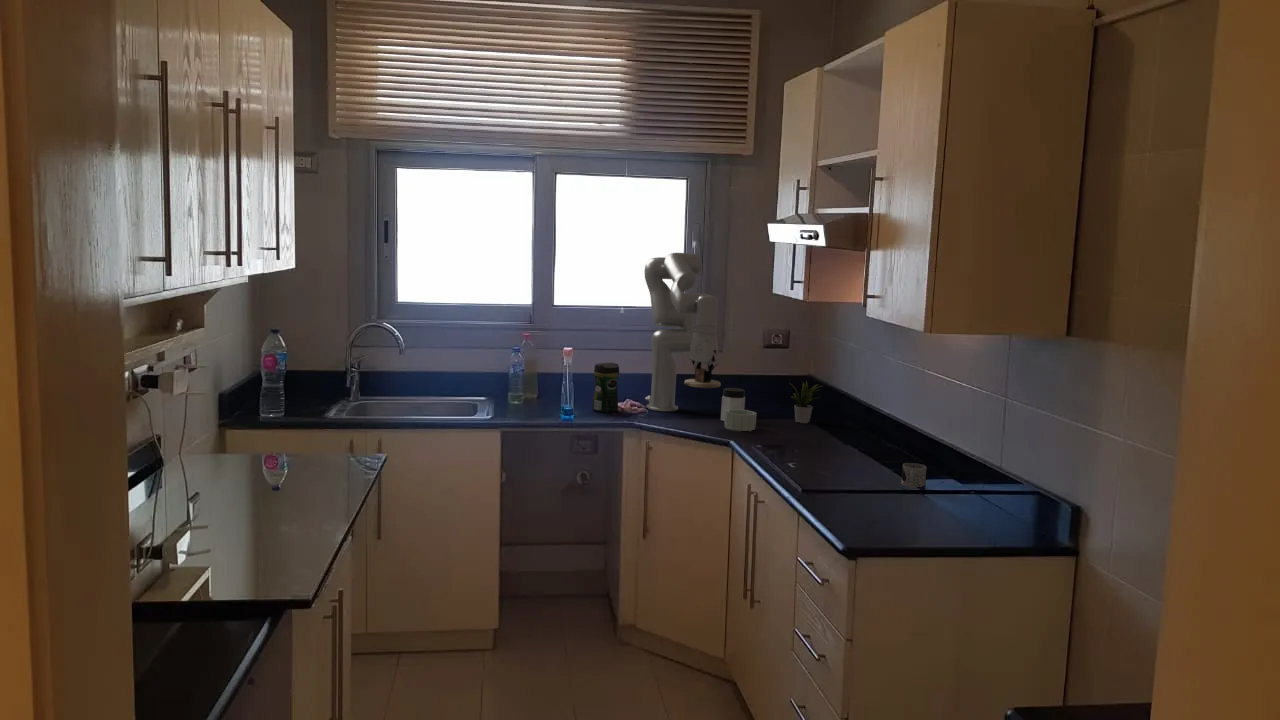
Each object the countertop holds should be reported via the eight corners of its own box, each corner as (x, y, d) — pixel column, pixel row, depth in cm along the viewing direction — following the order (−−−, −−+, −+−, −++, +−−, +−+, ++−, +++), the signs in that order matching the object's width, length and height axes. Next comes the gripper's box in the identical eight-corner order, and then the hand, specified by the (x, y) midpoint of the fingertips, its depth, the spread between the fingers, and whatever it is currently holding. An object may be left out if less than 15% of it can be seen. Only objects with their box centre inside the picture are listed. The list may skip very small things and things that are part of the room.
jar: (748, 422, 371) (750, 390, 370) (732, 423, 366) (734, 392, 364) (731, 417, 378) (733, 387, 376) (716, 419, 373) (718, 388, 371)
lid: (677, 383, 355) (678, 367, 354) (702, 381, 364) (703, 365, 363) (702, 388, 346) (703, 372, 345) (728, 386, 354) (729, 370, 354)
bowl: (718, 427, 358) (719, 410, 357) (738, 424, 366) (739, 408, 365) (741, 432, 350) (742, 416, 349) (761, 429, 358) (762, 413, 357)
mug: (902, 484, 289) (904, 461, 288) (925, 487, 286) (927, 465, 285) (898, 491, 279) (900, 468, 278) (922, 495, 277) (924, 472, 276)
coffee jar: (608, 407, 385) (610, 360, 382) (621, 411, 379) (623, 363, 376) (588, 409, 379) (590, 361, 376) (601, 413, 373) (603, 364, 370)
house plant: (830, 425, 372) (834, 383, 370) (798, 426, 368) (801, 383, 365) (811, 418, 386) (814, 377, 383) (780, 419, 381) (783, 377, 379)
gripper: (682, 327, 356) (679, 377, 358) (715, 333, 344) (712, 384, 346) (696, 327, 361) (693, 376, 363) (730, 332, 349) (726, 383, 351)
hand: (702, 380), depth 355 cm, fingers closed on lid, 4 cm apart
